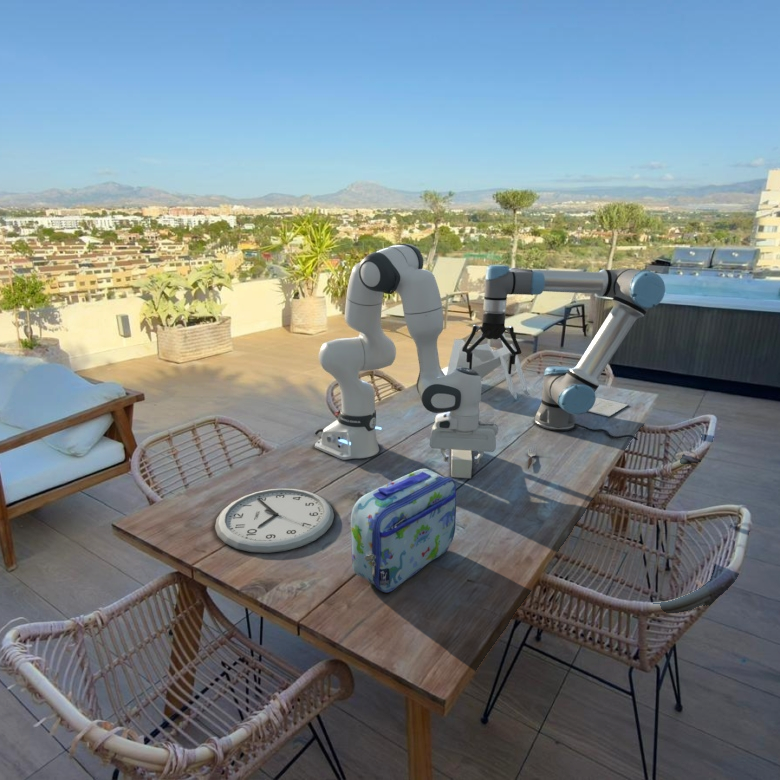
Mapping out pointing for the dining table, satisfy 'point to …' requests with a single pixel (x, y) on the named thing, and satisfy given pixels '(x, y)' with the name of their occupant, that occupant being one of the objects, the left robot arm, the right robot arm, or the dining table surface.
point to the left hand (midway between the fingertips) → (461, 461)
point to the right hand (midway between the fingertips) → (489, 372)
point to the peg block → (461, 463)
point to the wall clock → (274, 520)
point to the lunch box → (402, 527)
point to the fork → (531, 456)
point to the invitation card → (606, 407)
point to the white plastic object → (486, 362)
